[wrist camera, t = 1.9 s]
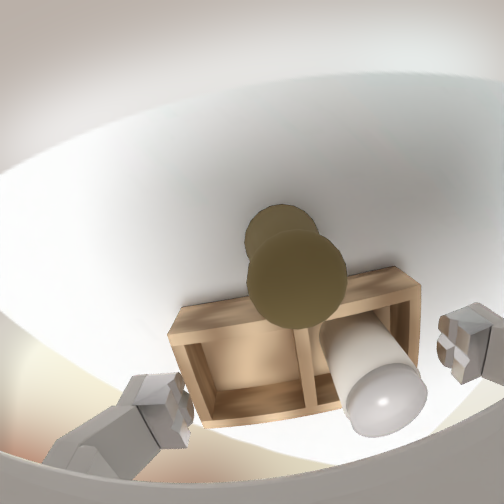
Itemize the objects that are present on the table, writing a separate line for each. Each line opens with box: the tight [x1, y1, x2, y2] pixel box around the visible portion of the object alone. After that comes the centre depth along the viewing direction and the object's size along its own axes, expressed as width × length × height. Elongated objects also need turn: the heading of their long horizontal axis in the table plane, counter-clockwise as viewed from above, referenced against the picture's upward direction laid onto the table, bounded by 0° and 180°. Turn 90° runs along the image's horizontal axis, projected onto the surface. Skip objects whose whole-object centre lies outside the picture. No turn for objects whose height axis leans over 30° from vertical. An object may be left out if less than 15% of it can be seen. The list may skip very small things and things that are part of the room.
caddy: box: [167, 266, 421, 429], centre depth 24 cm, size 19×10×5 cm, turn 101°
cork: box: [244, 204, 348, 330], centre depth 19 cm, size 6×6×11 cm
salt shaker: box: [319, 310, 428, 438], centre depth 21 cm, size 6×6×10 cm
